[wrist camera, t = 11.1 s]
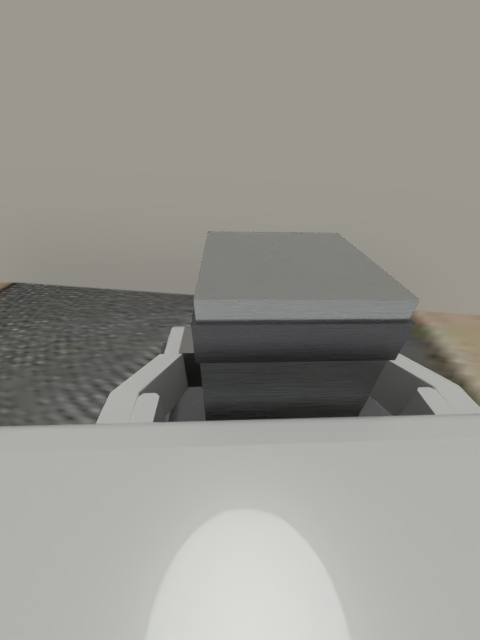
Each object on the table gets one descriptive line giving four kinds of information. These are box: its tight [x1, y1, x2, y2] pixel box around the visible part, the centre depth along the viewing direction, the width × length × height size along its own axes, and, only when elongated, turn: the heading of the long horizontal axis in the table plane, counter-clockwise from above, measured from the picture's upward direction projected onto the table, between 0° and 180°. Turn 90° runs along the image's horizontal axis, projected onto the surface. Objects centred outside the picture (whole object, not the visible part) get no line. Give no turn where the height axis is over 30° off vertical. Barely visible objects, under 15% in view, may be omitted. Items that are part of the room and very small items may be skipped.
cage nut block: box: [191, 231, 420, 421], centre depth 10 cm, size 5×5×9 cm
